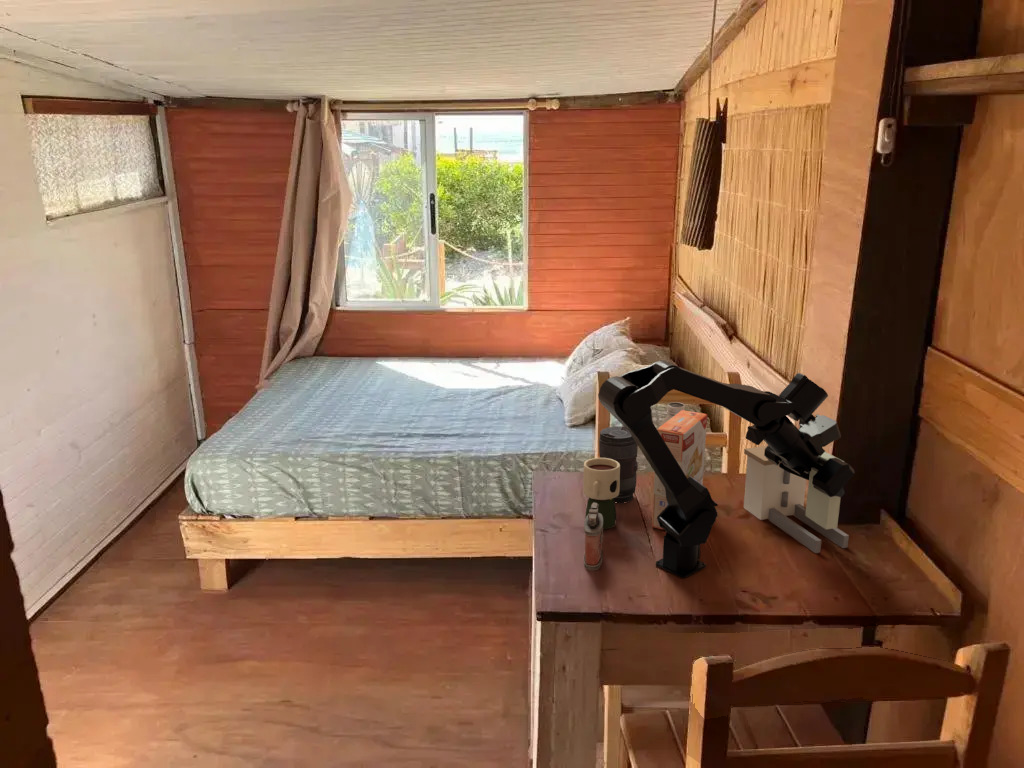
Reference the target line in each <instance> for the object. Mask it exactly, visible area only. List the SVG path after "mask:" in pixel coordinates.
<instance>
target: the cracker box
mask: <svg viewBox="0 0 1024 768" xmlns="http://www.w3.org/2000/svg"><path fill="white" fill-rule="evenodd" d="M707 425H708V414H707V413H703V412H696V411H689V410H685V409H684V410H681V411H680V412H679V413H677V414H676V415H675V416H673V417H672V418H671V419H669V420H668V421H667V422H666V423H664V424H663V425H662V426H661V425H659V427H658V428H656V429H657V430H658V432H659V433H660V435H661V437H662V438H663V440H664V441H665V443H666V445H667V446H668V448H669V450H670V451H671V453H672V454H673V456H674V458H675V459H676V461H677V462H678V464H679V466H680V467H681V469H682V470H683V472H684V474H685V475H686V477H687V478H688V477H689V476H691V477H693V478H694V479H695V480H697V481H698V482H699V483H701V484H702V485H703V483H704V482H703V481H704V469H705V467H704V466H705V456H706V455H705V454H706V453H705V452H706V441H707V440H706V438H707ZM653 482H654V483H653V498H652V517H651V518H652V519H651V527H652V528H656V529H659V530H664V529H663V528H661V527H660V526H659V523H658V520H657V516H658V515H659V514H660V513H661V512H662V511H663V510H664V509H665V508H666V507H667V505H668V502H667V500H666V491H665V487H664V486H663V484H662V483H661V481H660V479H659V478H658V476H657V475H656V473H655V472H654V481H653ZM664 531H665V530H664Z"/></svg>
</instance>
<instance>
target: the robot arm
mask: <svg viewBox="0 0 1024 768" xmlns="http://www.w3.org/2000/svg"><path fill="white" fill-rule="evenodd" d="M673 390H675V391H678V392H680V393H683V394H686V395H689V396H692V397H695V398H698V399H701V400H704V401H706V402H709V403H711V404H714V405H717V406H720V407H722V408H725V410H728V411H729V412H731V413H732V414H734V415H736V416H738V417H740V418H741V419H743V420H745V421H746V422H749V423H750V424H752V425H749V426H747V431H746V433H745V439H746V440H748V441H749V442H751V443H753V444H755V445H756V446H759V445H760V444H761V443H762V442H765V444H767V445H766V446H767V447H766V448H765V452H764V456H765V457H766V458H767V459H768V460H769V461H770V462H772V463H774V464H775V465H777V466H778V465H779V467H780V468H782V469H783V470H785V471H787V472H789V473H791V474H794V475H797V476H799V477H801V478H804V479H806V481H809V475H810V472H811V470H812V469H813V470H815V471H817V473H816V474H815V475H814V476H813V481H812V484H813V485H814V486H813V487H814V488H815V489H817V490H819V491H821V492H822V493H824V494H826V495H828V496H829V497H833V496H838V497H841V498H843V496H844V495H845V489H844V486H845V485H846V484H847V483H848V482H849V481H850V480H851V479H852V477H854V475H855V469H854V468H853V467H852V466H851V465H850V464H849V463H847V462H845V461H844V460H842V459H840V458H838V457H836V458H830V459H829V460H827V461H824V460H823V459H821V458H819V457H818V456H821V455H822V454H823V453H824V452H826V450H825V448H824V447H826V446H828V445H829V444H831V443H833V442H835V441H838V440H840V439H841V438H842V435H841V431H840V429H839V425H838V422H837V420H835V419H833V418H831V417H828V416H826V415H823V414H822V415H820V414H815V415H814V412H815V411H817V409H818V408H819V407H820V406H821V405H822V404H823V403H824V402H825V400H826V399H828V397H829V395H828V392H827V391H826V390H825V389H824V388H823V387H821V386H819V385H818V384H817V383H816V382H814V381H813V380H811V379H809V378H808V376H807V375H805V374H803V373H800V372H797V373H796V374H795V375H794V376H793V378H792V380H791V381H790V382H789V384H788V385H787V386H786V387H785V388H784V389H782V391H781V393H779V394H776V393H774V392H772V391H770V390H769V391H766V390H761V389H758V388H757V387H754V386H751V385H749V384H747V385H746V384H740V383H725V382H721V381H720V380H719V381H718V380H717V379H716V380H715V379H713V378H710V377H707V376H705V375H702V374H700V373H697V372H695V371H691V370H689V369H685V368H683V367H680V366H677V365H676V364H674V363H672V362H670V361H667V360H664V359H661V360H658V361H655V362H653V363H652V364H650V365H648V366H644V367H641V368H637V369H634V370H629V371H626V372H625V373H623V374H621V375H619V376H611V377H609V378H607V379H605V380H604V381H603V383H602V385H600V387H599V392H598V394H597V396H598V400H599V403H600V404H601V405H602V406H603V408H605V409H606V410H607V411H608V412H609V413H610V414H611V415H612V417H614V418H615V419H616V421H618V422H619V423H620V424H621V425H622V427H625V428H626V429H627V430H628V431H629V433H630V434H631V436H632V437H633V439H634V440H635V442H636V444H637V445H638V449H639V450H640V451H641V453H642V454H643V455H644V458H645V459H646V461H647V462H648V464H649V466H650V467H651V469H652V470H653V472H654V474H655V473H656V475H657V476H658V478H659V479H660V481H661V483H662V484H663V486H664V487H665V491H666V500H667V502H668V505H667V507H666V508H665V509H664V510H663V511H662V512H661V513H660V514H659V515H658V516H657V520H658V523H659V526H660V527H661V528H663V529H664V531H665V535H664V536H663V546H662V558H661V559H659V560H656V561H655V565H656V566H657V567H659V568H661V569H662V570H665V571H667V572H670V573H671V574H673V575H675V576H677V577H679V578H681V579H685V578H687V577H690V576H692V575H693V574H695V573H697V572H700V570H703V569H704V568H706V566H707V565H706V563H705V562H702V561H700V559H701V545H704V544H706V543H707V541H708V539H709V536H710V534H711V531H712V528H713V526H714V524H715V523H716V520H717V518H718V515H719V513H718V511H717V508H716V507H718V505H719V504H718V503H717V502H716V501H714V500H713V498H712V496H711V493H710V491H709V489H708V488H707V487H706V486H705V485H703V484H701V483H699V482H698V481H697V480H695V479H694V478H693V477H691V476H689V477H688V478H687V477H686V475H685V474H684V472H683V470H682V469H681V467H680V466H679V464H678V462H677V461H676V459H675V458H674V456H673V454H672V453H671V451H670V450H669V448H668V446H667V445H666V443H665V441H664V440H663V438H662V437H661V435H660V433H659V432H658V430H657V429H658V428H657V427H656V425H655V424H654V420H653V413H652V411H653V409H652V407H653V406H655V405H657V404H658V403H659V402H660V401H661V400H662V399H663V398H664V397H665V396H666V395H667V394H668V393H669V392H671V391H673ZM790 419H792V420H793V421H796V422H798V426H799V427H797V426H796V425H795V424H794V423H793V422H792V420H790ZM779 461H780V462H781V463H780V462H779ZM843 461H844V462H843ZM821 465H822V466H821ZM663 529H662V530H663Z"/></svg>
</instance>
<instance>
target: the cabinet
mask: <svg viewBox="0 0 1024 768" xmlns="http://www.w3.org/2000/svg"><path fill="white" fill-rule="evenodd" d="M767 446H768V445H763V446H755V447H748V448H743V449H744V450H743V454H744V455H746V456H747V457H746V468H745V469H746V470H745V471H746V472H745V485H744V498H743V509H745V510H746V511H747V512H749V513H750V514H751V515H752V516H754V517H755V518H757V519H758V520H760V521H763V520H768V521H769V522H770V523H771V524H773V525H775V526H777V528H779V529H780V530H782V531H783V532H784V533H786V535H789V536H790V537H791V538H793V539H795V540H796V541H797V542H799V543H800V544H801V545H803V546H805V548H807V549H808V550H810V551H812V552H813V553H814V554H819V553H821V546H822V539H821V538H819V537H818V536H816V535H814V534H813V533H811V532H809V530H807V529H805V528H804V527H802V526H801V525H800V524H798V523H797V522H795V521H794V520H792V519H791V518H789V517H788V516H794V517H795V518H796V519H798V520H800V521H801V522H802V523H804V524H805V525H807V526H809V527H810V528H812V529H813V530H815V531H816V532H817V533H819V534H821V535H822V536H823V537H825V538H826V539H828V540H829V541H831V542H833V543H834V544H836V545H837V546H839V547H840V548H841V549H846V548H848V546H849V536H850V535H849V534H847V533H846V532H844V531H843V530H841V529H840V528H838V527H837V528H832V529H825V528H823V527H821V526H820V525H818V524H817V523H815V522H814V521H812V520H811V519H809V518H808V517H806V516H805V514H806V506H805V497H806V487H807V486H806V485H807V480H806V479H804V478H801V477H799V476H797V475H794V474H791V473H789V472H787V471H785V470H783V469H782V468H780V467H779V465H778V466H777V465H775V464H774V463H772V462H770V461H769V460H768V459H767V458H766V457H765V456H764V452H765V448H766V447H767ZM779 462H780V461H779ZM780 463H781V462H780Z"/></svg>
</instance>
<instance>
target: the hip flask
mask: <svg viewBox="0 0 1024 768" xmlns="http://www.w3.org/2000/svg"><path fill="white" fill-rule="evenodd" d="M583 522H584V523H583V531H584V552H583V553H584V554H583V567H584V569H585V568H586V570H587V569H589V570H588V571H597V570H599V569H600V568H601V566H600V565H602V563H603V557H604V556H603V552H604V551H603V548H602V545H603V540H604V529H603V516H602V514H600V513H598V504H597V503H593V504H592V505H591V509H589V514H588V515H587V516H586V518H585V517H584V521H583ZM598 568H599V569H598Z"/></svg>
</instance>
